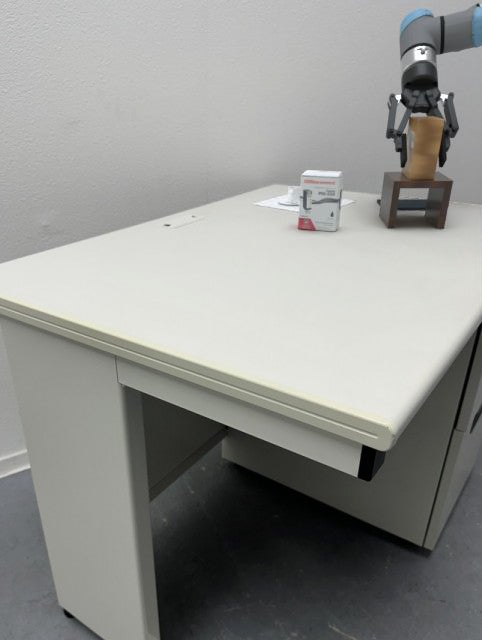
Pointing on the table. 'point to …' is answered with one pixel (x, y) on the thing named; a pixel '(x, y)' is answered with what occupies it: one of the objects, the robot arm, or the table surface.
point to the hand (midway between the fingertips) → (423, 163)
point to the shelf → (397, 180)
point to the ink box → (320, 200)
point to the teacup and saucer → (290, 200)
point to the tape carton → (423, 147)
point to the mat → (410, 204)
